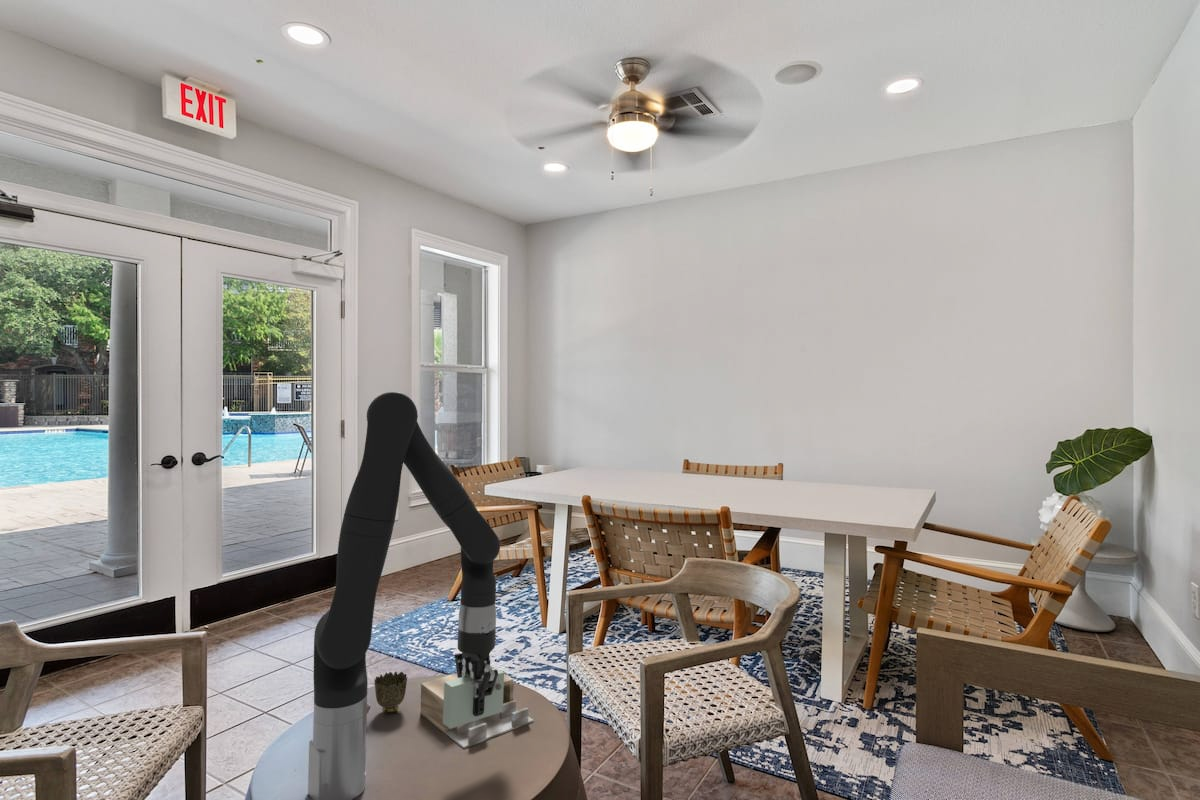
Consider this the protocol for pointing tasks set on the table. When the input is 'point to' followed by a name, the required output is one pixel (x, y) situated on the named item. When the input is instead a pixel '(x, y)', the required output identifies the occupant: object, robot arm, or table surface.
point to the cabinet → (479, 728)
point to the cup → (390, 691)
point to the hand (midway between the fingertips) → (473, 711)
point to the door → (469, 700)
